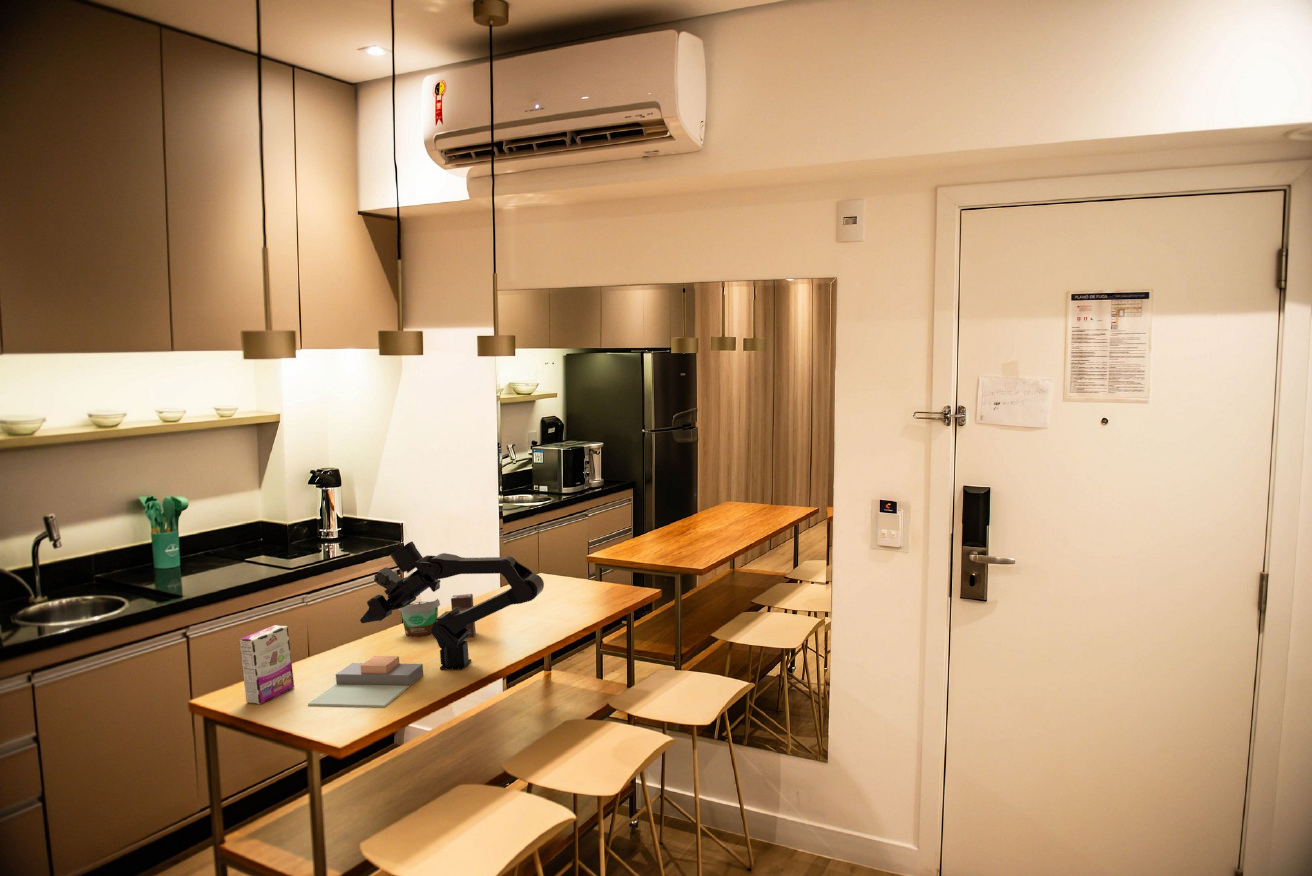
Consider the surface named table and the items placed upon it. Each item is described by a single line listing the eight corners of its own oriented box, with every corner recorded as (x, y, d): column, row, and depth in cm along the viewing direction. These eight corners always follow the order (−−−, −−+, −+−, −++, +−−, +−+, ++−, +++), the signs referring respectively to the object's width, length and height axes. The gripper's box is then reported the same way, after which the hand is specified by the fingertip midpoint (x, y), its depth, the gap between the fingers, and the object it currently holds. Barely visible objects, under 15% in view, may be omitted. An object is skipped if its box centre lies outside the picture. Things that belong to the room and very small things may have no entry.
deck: (423, 675, 217) (422, 663, 217) (409, 686, 209) (408, 675, 209) (353, 674, 221) (352, 663, 220) (336, 685, 213) (335, 674, 213)
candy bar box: (280, 686, 215) (274, 624, 213) (295, 688, 213) (289, 625, 211) (244, 703, 204) (238, 638, 203) (259, 705, 202) (253, 639, 201)
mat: (408, 687, 209) (408, 685, 209) (384, 707, 197) (384, 705, 197) (335, 686, 212) (335, 684, 212) (308, 705, 201) (308, 703, 201)
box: (475, 632, 251) (473, 593, 250) (474, 636, 247) (471, 597, 246) (455, 633, 251) (452, 594, 250) (453, 638, 246) (450, 598, 245)
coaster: (399, 663, 218) (398, 656, 218) (386, 673, 211) (385, 665, 211) (374, 663, 219) (374, 655, 219) (361, 673, 212) (360, 665, 212)
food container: (399, 640, 247) (397, 607, 246) (400, 634, 253) (397, 602, 252) (442, 635, 250) (440, 602, 249) (442, 629, 256) (439, 597, 255)
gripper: (411, 553, 232) (370, 584, 235) (378, 569, 214) (334, 601, 217) (434, 586, 232) (392, 616, 235) (403, 604, 213) (358, 636, 216)
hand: (369, 616), depth 226 cm, fingers open, 9 cm apart
